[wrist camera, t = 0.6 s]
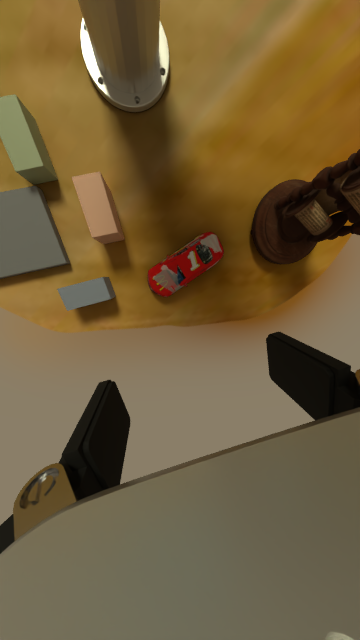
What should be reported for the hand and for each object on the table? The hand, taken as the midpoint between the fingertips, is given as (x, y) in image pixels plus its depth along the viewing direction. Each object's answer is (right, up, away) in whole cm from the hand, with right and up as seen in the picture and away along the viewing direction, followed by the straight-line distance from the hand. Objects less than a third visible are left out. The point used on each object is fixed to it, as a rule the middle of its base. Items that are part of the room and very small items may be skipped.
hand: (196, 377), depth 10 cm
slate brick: (-18, +9, +24) cm, 32 cm away
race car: (0, +15, +25) cm, 29 cm away
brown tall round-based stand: (+20, +23, +25) cm, 40 cm away
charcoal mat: (-30, +18, +20) cm, 40 cm away
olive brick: (-24, +30, +17) cm, 43 cm away
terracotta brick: (-14, +22, +21) cm, 34 cm away
